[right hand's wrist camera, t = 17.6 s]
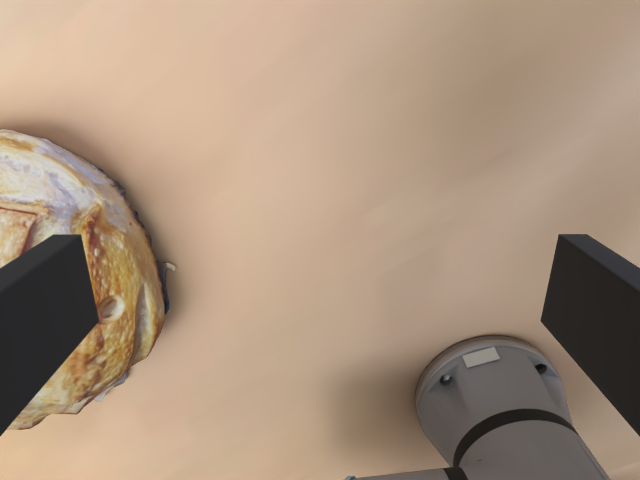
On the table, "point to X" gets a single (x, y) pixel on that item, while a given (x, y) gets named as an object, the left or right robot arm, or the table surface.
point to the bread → (102, 259)
